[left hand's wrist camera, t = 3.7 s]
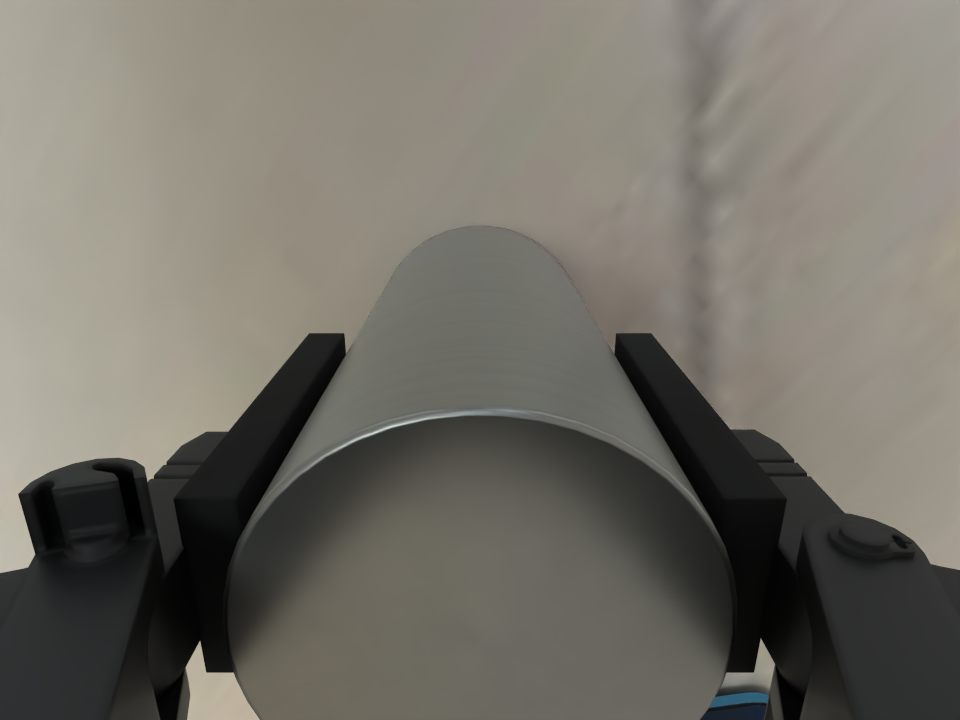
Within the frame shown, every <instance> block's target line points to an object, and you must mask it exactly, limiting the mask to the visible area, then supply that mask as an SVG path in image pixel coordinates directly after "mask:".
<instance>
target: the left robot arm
mask: <svg viewBox="0 0 960 720" xmlns="http://www.w3.org/2000/svg"><path fill="white" fill-rule="evenodd" d="M345 356H346V350H345V337H344V333H309V335H308V336H307V337H306V338H305V339H304V341H303V342H302V343H301V344H300V345H299V347H298V348H297V349H296V350H295V352H294V353H293V354H292V355H291V356H290V358H289V359H288V360H287V361H286V362H285V364H284V365H283V366H282V367H281V369H280V370H279V371H278V372H277V373H276V375H275V376H274V377H273V378H272V379H271V381H270V382H269V383H268V384H267V386H266V387H265V388H264V389H263V390H262V392H261V393H260V394H259V395H258V396H257V398H256V399H255V400H254V401H253V403H252V404H251V405H250V406H249V407H248V409H247V410H246V411H245V412H244V413H243V415H242V416H241V417H240V418H239V420H238V421H237V422H236V423H235V424H234V426H233V427H232V428H231V429H230V430H229V432H205V433H204V434H202V435H200V436H198V437H196V438H195V439H193V440H191V441H189V442H188V443H186V444H184V445H182V446H181V447H180V448H179V449H178V450H177V451H176V452H175V454H174V455H173V456H172V457H171V458H170V459H169V460H168V461H167V465H163V466H162V467H161V469H160V470H159V471H158V472H157V473H156V474H155V475H154V479H150V480H149V481H148V482H147V478H146V473H145V468H144V467H143V466H142V465H140V464H139V463H137V462H136V461H134V460H128V459H122V458H106V459H94V460H89V461H84V462H79V463H74V464H71V465H68V466H65V467H63V468H60V469H57V470H54V471H51V472H49V473H47V474H45V475H44V476H42V477H40V478H38V479H36V480H34V481H33V482H31V483H30V484H29V485H28V486H26V487H25V488H24V489H23V490H22V491H21V492H20V493H19V494H18V495H19V498H20V502H21V505H22V509H23V512H24V516H25V519H26V523H27V526H28V530H29V533H30V537H31V540H32V544H33V547H34V551H35V556H34V558H33V560H32V562H31V564H30V565H29V567H28V568H24V569H20V570H15V571H10V572H4V573H0V720H187V715H188V708H189V701H190V690H189V683H188V678H187V673H186V668H185V667H186V665H187V663H188V661H189V660H190V658H191V656H192V654H193V652H194V650H195V649H196V647H197V645H198V643H199V641H201V646H202V652H203V657H204V662H205V667H206V672H234V671H233V668H232V665H231V662H230V659H229V656H228V652H227V646H226V640H225V633H224V627H223V595H224V589H225V583H226V578H227V572H228V567H229V564H230V561H231V559H232V556H233V553H234V550H235V547H236V545H237V542H238V540H239V538H240V536H241V534H242V532H243V531H244V529H245V527H246V525H247V523H248V521H249V520H250V518H251V516H252V514H253V513H254V511H255V509H256V507H257V506H258V504H259V502H260V501H261V499H262V497H263V495H264V494H265V492H266V490H267V489H268V487H269V485H270V484H271V482H272V480H273V478H274V477H275V475H276V473H277V472H278V470H279V468H280V466H281V465H282V463H283V461H284V460H285V458H286V456H287V455H288V453H289V451H290V449H291V448H292V446H293V444H294V443H295V441H296V439H297V438H298V436H299V434H300V432H301V431H302V429H303V427H304V426H305V424H306V422H307V420H308V419H309V417H310V415H311V414H312V412H313V410H314V409H315V407H316V405H317V403H318V402H319V400H320V398H321V397H322V395H323V393H324V391H325V390H326V388H327V386H328V385H329V383H330V381H331V380H332V378H333V376H334V374H335V373H336V371H337V369H338V368H339V366H340V364H341V362H342V361H343V359H344V357H345ZM615 357H616V358H617V360H618V362H619V363H620V365H621V367H622V368H623V370H624V372H625V374H626V375H627V377H628V379H629V380H630V382H631V384H632V385H633V387H634V389H635V391H636V392H637V394H638V396H639V397H640V399H641V401H642V402H643V404H644V406H645V408H646V409H647V411H648V413H649V414H650V416H651V418H652V419H653V421H654V423H655V425H656V426H657V428H658V430H659V431H660V433H661V435H662V436H663V438H664V440H665V442H666V443H667V445H668V447H669V448H670V450H671V452H672V453H673V455H674V457H675V459H676V460H677V462H678V464H679V465H680V467H681V469H682V470H683V472H684V474H685V476H686V477H687V479H688V481H689V482H690V484H691V486H692V487H693V489H694V491H695V493H696V494H697V496H698V498H699V499H700V501H701V503H702V504H703V506H704V508H705V510H706V511H707V513H708V515H709V516H710V518H711V520H712V522H713V524H714V526H715V528H716V530H717V532H718V533H719V535H720V537H721V539H722V541H723V543H724V545H725V548H726V551H727V554H728V557H729V560H730V564H731V567H732V570H733V573H734V580H735V587H736V594H737V632H736V637H735V643H734V648H733V653H732V658H731V661H730V664H729V666H728V669H727V672H754V670H755V664H756V659H757V654H758V649H759V643H760V638H761V639H762V641H763V643H764V644H765V646H766V648H767V650H768V652H769V654H770V655H771V657H772V659H773V661H774V663H775V668H774V673H773V678H772V682H771V687H770V692H769V697H768V702H767V707H766V712H765V716H764V720H960V570H956V569H951V568H945V567H940V566H936V565H932V564H930V562H929V561H928V559H927V557H926V555H925V553H924V552H923V551H922V550H921V549H920V548H919V547H918V545H917V544H916V543H915V542H914V541H913V540H912V539H910V538H909V537H907V536H906V535H904V534H903V533H901V532H899V531H898V530H896V529H895V528H892V527H890V526H888V525H885V524H883V523H880V522H878V521H876V520H873V519H869V518H865V517H861V516H857V515H853V514H845V513H844V512H843V511H842V510H841V509H840V508H839V507H838V506H837V505H836V504H835V502H834V501H833V500H832V499H831V498H830V497H829V496H828V495H827V494H826V493H825V492H824V491H823V490H822V489H821V488H820V487H819V485H818V484H817V483H816V482H815V481H814V480H813V479H812V478H811V477H807V473H806V472H805V471H804V470H803V468H802V467H801V466H800V465H799V464H798V463H794V459H793V458H792V457H791V456H790V455H789V454H788V453H787V451H786V450H785V449H784V448H783V447H782V446H781V445H780V444H779V443H777V442H775V441H774V440H772V439H770V438H768V437H766V436H765V435H763V434H761V433H759V432H757V431H756V430H730V429H729V427H728V426H727V425H726V424H725V423H724V421H723V420H722V419H721V418H720V417H719V415H718V414H717V413H716V412H715V410H714V409H713V408H712V407H711V406H710V404H709V403H708V402H707V401H706V400H705V398H704V397H703V396H702V395H701V393H700V392H699V391H698V390H697V389H696V387H695V386H694V385H693V384H692V383H691V381H690V380H689V379H688V378H687V376H686V375H685V374H684V373H683V372H682V370H681V369H680V368H679V367H678V366H677V364H676V363H675V362H674V361H673V359H672V358H671V357H670V356H669V355H668V353H667V352H666V351H665V350H664V349H663V347H662V346H661V345H660V344H659V342H658V341H657V340H656V339H655V338H654V336H653V335H652V334H651V333H616V343H615Z"/></svg>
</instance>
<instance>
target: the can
mask: <svg viewBox="0 0 960 720" xmlns="http://www.w3.org/2000/svg"><path fill="white" fill-rule="evenodd" d="M223 627H224V633H225V640H226V646H227V652H228V656H229V659H230V662H231V665H232V668H233V671H234V674H235V677H236V679H237V681H238V683H239V685H240V687H241V689H242V691H243V693H244V695H245V697H246V699H247V701H248V703H249V704H250V706H251V707H252V709H253V710H254V711H255V713H256V714H257V716H258V717H259V719H260V720H700V719H701V718H702V716H703V715H704V714H705V712H706V711H707V710H708V708H709V707H710V705H711V703H712V702H713V700H714V698H715V696H716V694H717V692H718V690H719V689H720V687H721V685H722V683H723V680H724V678H725V675H726V672H727V669H728V666H729V664H730V661H731V658H732V653H733V648H734V643H735V637H736V632H737V594H736V587H735V580H734V573H733V570H732V567H731V564H730V560H729V557H728V554H727V551H726V548H725V545H724V543H723V541H722V539H721V537H720V535H719V533H718V532H717V530H716V528H715V526H714V524H713V522H712V520H711V518H710V516H709V515H708V513H707V511H706V510H705V508H704V506H703V504H702V503H701V501H700V499H699V498H698V496H697V494H696V493H695V491H694V489H693V487H692V486H691V484H690V482H689V481H688V479H687V477H686V476H685V474H684V472H683V470H682V469H681V467H680V465H679V464H678V462H677V460H676V459H675V457H674V455H673V453H672V452H671V450H670V448H669V447H668V445H667V443H666V442H665V440H664V438H663V436H662V435H661V433H660V431H659V430H658V428H657V426H656V425H655V423H654V421H653V419H652V418H651V416H650V414H649V413H648V411H647V409H646V408H645V406H644V404H643V402H642V401H641V399H640V397H639V396H638V394H637V392H636V391H635V389H634V387H633V385H632V384H631V382H630V380H629V379H628V377H627V375H626V374H625V372H624V370H623V368H622V367H621V365H620V363H619V362H618V360H617V358H616V357H615V355H614V353H613V351H612V350H611V348H610V346H609V345H608V343H607V341H606V340H605V338H604V336H603V334H602V333H601V331H600V329H599V328H598V326H597V324H596V323H595V321H594V319H593V317H592V316H591V314H590V312H589V311H588V309H587V307H586V306H585V304H584V302H583V300H582V299H581V297H580V295H579V294H578V292H577V290H576V289H575V287H574V285H573V283H572V282H571V280H570V278H569V277H568V275H567V273H566V272H565V270H564V269H563V268H562V266H561V265H560V263H559V262H558V261H557V260H556V259H555V258H554V257H553V256H552V255H551V254H550V253H549V252H548V251H547V250H546V249H544V248H543V247H542V246H541V245H539V244H538V243H536V242H534V241H533V240H531V239H530V238H528V237H526V236H523V235H521V234H519V233H516V232H514V231H510V230H507V229H503V228H497V227H490V226H471V227H462V228H458V229H454V230H450V231H447V232H444V233H442V234H439V235H437V236H434V237H433V238H431V239H429V240H427V241H426V242H424V243H422V244H421V245H420V246H418V247H417V248H416V249H415V250H413V251H412V252H411V253H410V254H409V255H408V256H407V257H406V258H405V259H404V260H403V261H402V263H401V264H400V265H399V267H398V268H397V269H396V271H395V272H394V274H393V276H392V277H391V279H390V281H389V282H388V284H387V286H386V287H385V289H384V291H383V293H382V294H381V296H380V298H379V299H378V301H377V303H376V305H375V306H374V308H373V310H372V311H371V313H370V315H369V316H368V318H367V320H366V322H365V323H364V325H363V327H362V328H361V330H360V332H359V333H358V335H357V337H356V339H355V340H354V342H353V344H352V345H351V347H350V349H349V351H348V352H347V354H346V356H345V357H344V359H343V361H342V362H341V364H340V366H339V368H338V369H337V371H336V373H335V374H334V376H333V378H332V380H331V381H330V383H329V385H328V386H327V388H326V390H325V391H324V393H323V395H322V397H321V398H320V400H319V402H318V403H317V405H316V407H315V409H314V410H313V412H312V414H311V415H310V417H309V419H308V420H307V422H306V424H305V426H304V427H303V429H302V431H301V432H300V434H299V436H298V438H297V439H296V441H295V443H294V444H293V446H292V448H291V449H290V451H289V453H288V455H287V456H286V458H285V460H284V461H283V463H282V465H281V466H280V468H279V470H278V472H277V473H276V475H275V477H274V478H273V480H272V482H271V484H270V485H269V487H268V489H267V490H266V492H265V494H264V495H263V497H262V499H261V501H260V502H259V504H258V506H257V507H256V509H255V511H254V513H253V514H252V516H251V518H250V520H249V521H248V523H247V525H246V527H245V529H244V531H243V532H242V534H241V536H240V538H239V540H238V542H237V545H236V547H235V550H234V553H233V556H232V559H231V561H230V564H229V567H228V572H227V578H226V583H225V589H224V595H223Z"/></svg>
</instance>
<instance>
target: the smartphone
mask: <svg viewBox="0 0 960 720" xmlns="http://www.w3.org/2000/svg"><path fill="white" fill-rule="evenodd" d="M768 697H769V695H767V694H764V693H758V692H747V693H739V694H732V695H725V696H718V697H715V698H714V700H713V702H712V703H711V705H710V707H709V708H708V710H707V711H706V712H705V714H704V715H703V716H702V718H701V719H700V720H764V716H765V712H766V707H767V702H768Z"/></svg>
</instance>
